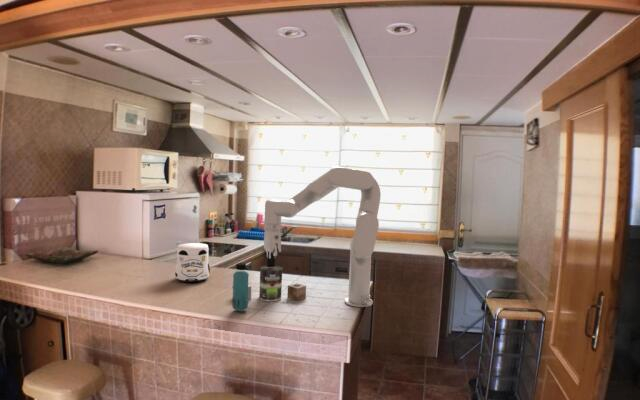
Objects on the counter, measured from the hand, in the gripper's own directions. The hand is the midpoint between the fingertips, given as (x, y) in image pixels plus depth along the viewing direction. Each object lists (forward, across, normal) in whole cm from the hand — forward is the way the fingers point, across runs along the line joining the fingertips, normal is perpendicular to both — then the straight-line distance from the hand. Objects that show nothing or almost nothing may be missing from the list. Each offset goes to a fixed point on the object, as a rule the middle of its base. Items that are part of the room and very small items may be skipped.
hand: (270, 266), depth 177 cm
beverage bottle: (+15, -11, +18) cm, 26 cm away
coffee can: (+15, 0, 0) cm, 15 cm away
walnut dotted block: (+15, -5, -11) cm, 19 cm away
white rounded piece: (+15, +43, +26) cm, 52 cm away
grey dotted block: (+15, +5, +11) cm, 19 cm away
